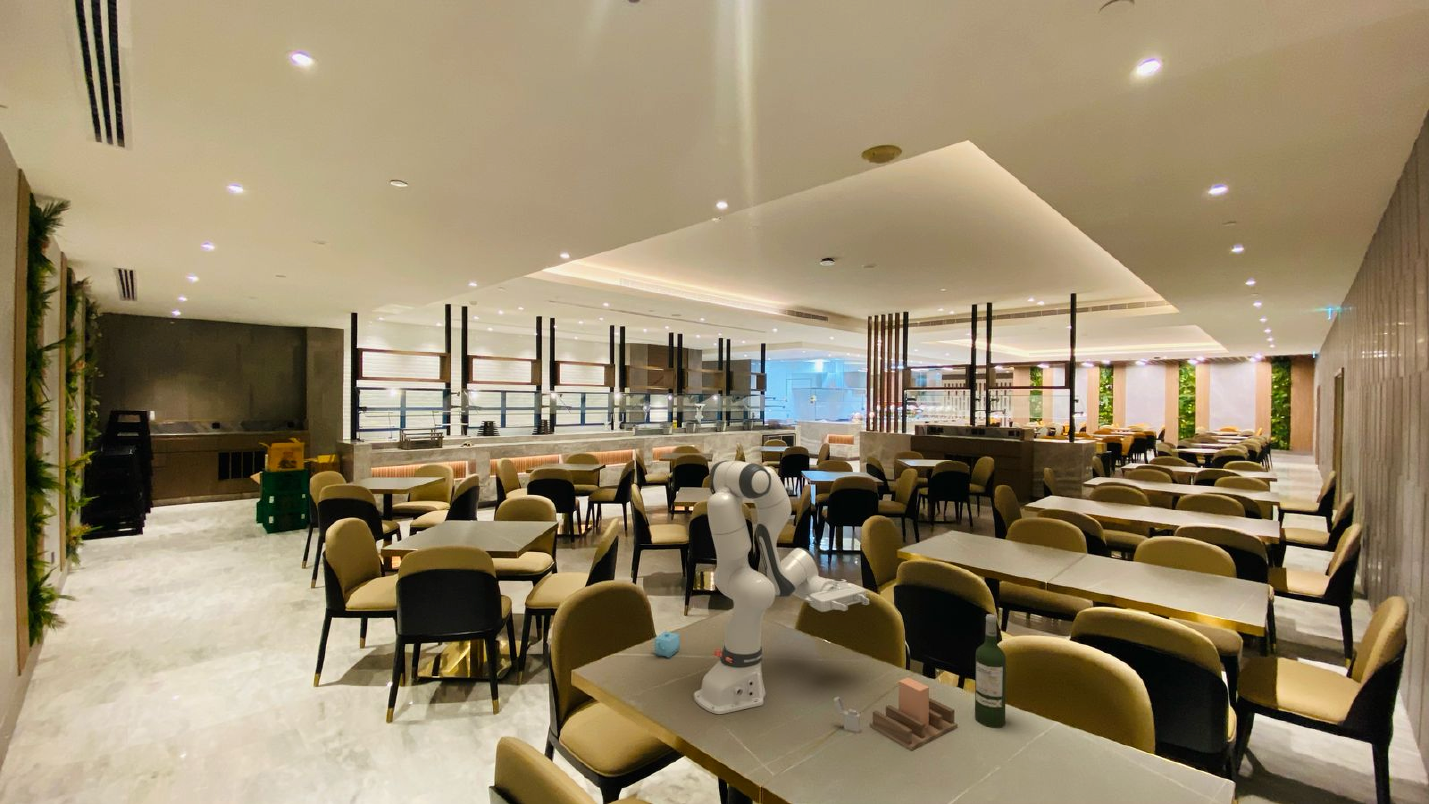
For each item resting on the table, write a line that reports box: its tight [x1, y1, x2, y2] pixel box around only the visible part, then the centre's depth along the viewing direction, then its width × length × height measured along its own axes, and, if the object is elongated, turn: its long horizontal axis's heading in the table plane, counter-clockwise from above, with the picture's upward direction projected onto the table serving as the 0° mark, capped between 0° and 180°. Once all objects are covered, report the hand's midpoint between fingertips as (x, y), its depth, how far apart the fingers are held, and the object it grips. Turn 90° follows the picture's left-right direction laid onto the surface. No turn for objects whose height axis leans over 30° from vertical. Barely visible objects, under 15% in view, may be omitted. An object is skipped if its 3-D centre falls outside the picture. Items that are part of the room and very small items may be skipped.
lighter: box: [833, 696, 861, 733], centre depth 169 cm, size 7×2×8 cm, turn 66°
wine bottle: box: [974, 613, 1007, 729], centre depth 173 cm, size 8×8×30 cm
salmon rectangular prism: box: [898, 677, 930, 728], centre depth 170 cm, size 4×7×11 cm, turn 35°
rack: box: [869, 697, 958, 752], centre depth 170 cm, size 20×14×4 cm
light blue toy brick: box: [654, 630, 681, 659], centre depth 216 cm, size 12×6×8 cm, turn 153°
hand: (857, 605), depth 187 cm, fingers open, 8 cm apart
